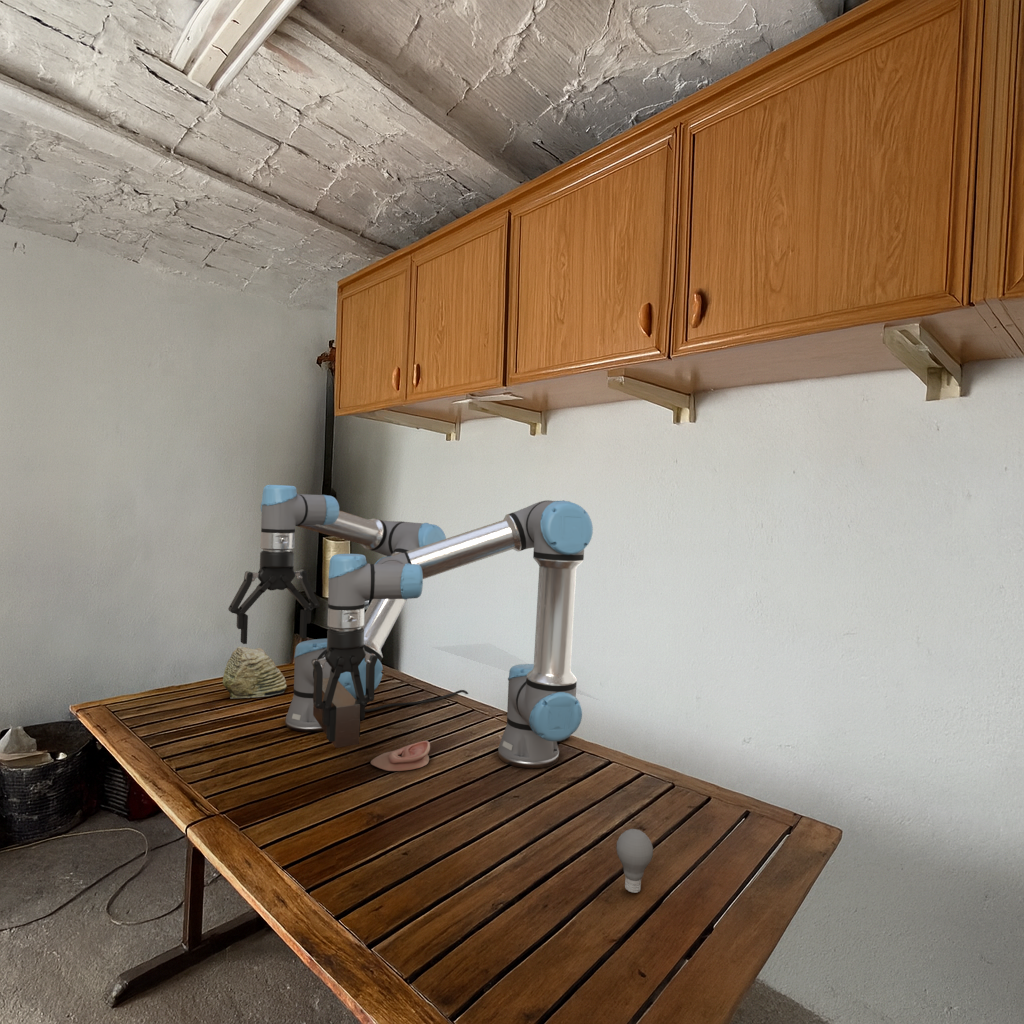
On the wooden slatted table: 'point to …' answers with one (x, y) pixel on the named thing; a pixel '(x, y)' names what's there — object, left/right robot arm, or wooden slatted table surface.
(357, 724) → the bar
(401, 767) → the anatomical model
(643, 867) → the light bulb
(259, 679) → the fossil
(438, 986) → the wooden slatted table surface
